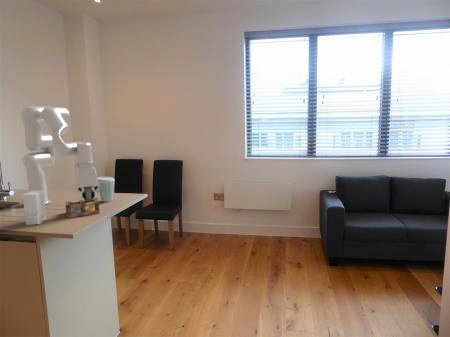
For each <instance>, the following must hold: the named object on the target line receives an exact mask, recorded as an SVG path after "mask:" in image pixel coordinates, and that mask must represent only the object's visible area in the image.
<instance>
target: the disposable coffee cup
mask: <svg viewBox="0 0 450 337" xmlns="http://www.w3.org/2000/svg"><path fill="white" fill-rule="evenodd" d="M97 180H98V181H99V183H100V184H101V186H99V187H98V188H97V189H98V192H99V197H100V200H101V202H102V203H110V202H112V201H113V199H114V191H115V190H114V189H115V182H116V180H115V178H114V177H113V176H97Z"/></svg>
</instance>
